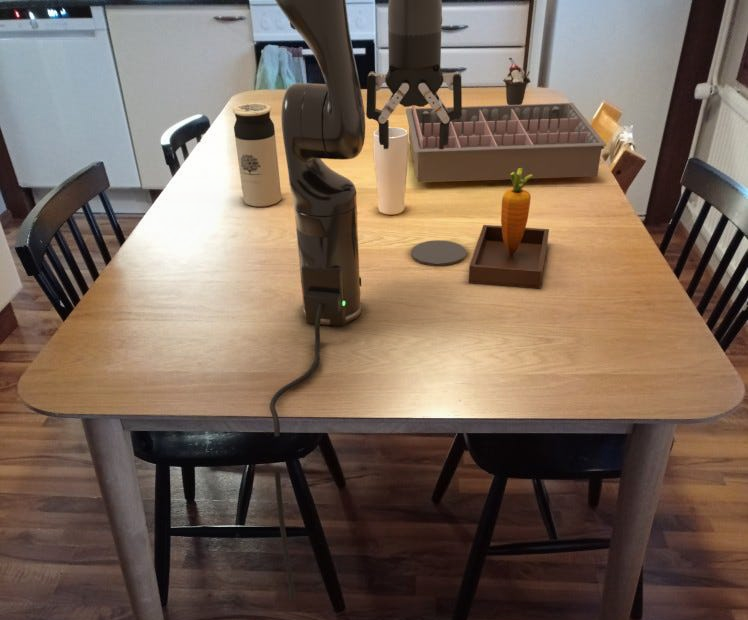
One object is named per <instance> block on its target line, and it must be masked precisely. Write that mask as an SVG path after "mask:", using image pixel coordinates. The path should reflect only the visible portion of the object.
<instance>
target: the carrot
mask: <svg viewBox="0 0 748 620" xmlns="http://www.w3.org/2000/svg"><path fill="white" fill-rule="evenodd" d="M521 175H522V168H519V169H518V171H517V173H516V176H515V173H514V172H512V173H511V175H510V176H511V179H510V180H511V183H512V186H513V187H512V188H510V189H507V190H505V191H504V193H503V196H502V199H501V210H500V211H501V212H500V213H501V215H500V216H501V217H500V226H501V227H502V236H503V241H504V244H505V247H506V249H507V252H508V253H509V254H510V255H513V254H514V253H515V251H516V250H517V248H518V246H519V244H520V242H521V240H522V237H523V234H524V231H525V228H527V223H528V220H529V213H530V207H531V193H530V192H529V191H528V190H526V189H523V187H524V186H525V184H526V183H527V182H528V181H529V180H530V178H531V179H533V178H532V177H533V175H532V174H530V175H528V176H526V177H525V178H524V179H521Z"/></svg>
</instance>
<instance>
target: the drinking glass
mask: <svg viewBox="0 0 748 620" xmlns="http://www.w3.org/2000/svg"><path fill="white" fill-rule="evenodd" d="M372 151H373V153H372V154H373V155H372V156H373V163H374V174H375V183H376V193H377V207H378V208H377V209H378V211H379V212H380V213H381V214H384V215H388V216H389V215H390V216H393V215H398V214H401V213H403V212H404V210H405V204H406V202H405V198H406V186H407V185H406V184H407V175H408V174H407V173H408V163H409V162H408V161H409V130H407V129H405V128H402V127H396V126H389V148H388V149H384V147H383V145H380V143H379V128H378V129H375V130H374V131H373V136H372Z"/></svg>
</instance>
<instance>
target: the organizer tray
mask: <svg viewBox="0 0 748 620" xmlns="http://www.w3.org/2000/svg"><path fill="white" fill-rule="evenodd" d="M445 107H446V108H447V110H450V109H453V106H445ZM405 114H406V119H407V123H408V142H409V145H410V151H411V155H412V160H413V166H414V170H415V171H414V172H415V175H416V180H417V183H440V182H441V183H443V182H445V183H446V182H470V181H496V180H497V181H500V180H501V181H502V180H511V176H510V175H511V173H512V172H514V173H515V176H516V173H517V171H518V169H519V168H522V175H521V180H524V178H525V177H526V176H528V175H530V174H532V175H533V177H532V178H530V179H531V180H532V179H555V178H556V179H557V178H579V177H580V178H583V177H598V175H599V167H600V162H601V161H600V160H601V156H602V155H601V154H602V149H603V147H607V144H606V142H605V141H604V139H602V137H601V136H600V135H599V133H598V132H597V131H596V130H595V129H594V128H593V125H592V124H590V122H589V121H588V120H587V118H585V116H584V115H583V114H582V112H581V111H580V110H579V108H577V107H576V105H575V103H573V102H559V103H558V102H557V103H532V104H531V103H530V104H529V103H528V104H527V103H526V104H521V105H508V104H501V105H500V104H499V105H474V106H473V105H471V106H462V116H461V118H460V119H454V120H452V121H451V122H450V123H449V139H448V144H447V145H444V149H439V133H440V120H441V119H440V118H439V117H438V115H437V114H436V112H434V110H433V109H432V107H416V106H415V105H413V106H411V107H410V108H406V109H405ZM530 179H529V180H530Z"/></svg>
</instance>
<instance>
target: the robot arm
mask: <svg viewBox="0 0 748 620" xmlns="http://www.w3.org/2000/svg"><path fill="white" fill-rule="evenodd" d="M274 1H275V3H276V4H277V7H279V8H280V10H281V11H282V13H283V14H284V15H285V17H286V18H287V20H288V21H289V22H290V24H291V25H292V26H293V28H294V29H295V30H296V32H297V33H298V35H299V36H300V37H301V38H302V39H303V41H304V42H305V43H306V45H307V46H308V48H309V49H310V51H311V52H312V54H313V55H314V58H315V60H316V62H317V64H318V66H319V68H320V71H321V74H322V77H323V80H324V83H310V82H298V83H297V82H296V83H293V84H291V85H289V87H288V88H287V89H286V90H285V93H284V95H283V99H282V103H281V115H280V116H281V117H280V121H281V131H282V140H283V141H282V142H283V146H284V153H285V159H286V166H287V167H286V168H287V173H288V183H289V189H290V192H291V195H292V199H293V207H294V209H293V210H294V216H295V217H294V219H295V229H296V230H295V231H296V240H297V251H298V265H299V274H300V275H299V276H300V287H301V297H302V311H303V316H304V318H305V323H306V324H314V360H313V363H312V364H311V366H310V367H309V369H308V370H307V371H306V372H305V373H304V374H302V375H301V376H300V377H298V378H296V379H294V380H292V381H291V382H289V383H287V384H286V385H284V386H283V387H281V388H280V389H278V391H276V392H275V394H273V396H272V398H271V400H270V402H269V411H270V413H271V416H272V420H273V429H274V431H273V432H274V434H273V435H274V437H276V438H278V437H280V435H281V427H280V419H279V415H278V412H277V409H276V404H277V402H278V400H279V398H280V397H281V396H282V395H283V394H285V393H286V392H287V391H289V390H291V389H292V388H294V387H295V386H297V385H299V384H301V383H303V382H305V380H308V378H310V376H312V374H313V373H314V372H315V371H316V369H317V367H318V366H319V363H320V343H321V342H320V341H321V330H320V328H321V325H323V326H324V325H325V326H335V327H344V326H345V324H347V323H349V322H352V321H354V320H356V319H357V318H358V317H360V315H361V313H362V301H361V299H362V298H361V287H362V278H361V276H360V258H359V257H360V255H359V231H358V230H359V228H358V203H357V199H358V198H357V189H356V186H355V184H354V182H353V181H352V180H350V179H349V178H347V177H345V176H344V175H342V174H340V173H339V172H336V171H334V170H333V169H331V168H330V166H328V165H327V164H325V162H324V161H323V159H325V160H336V161H337V160H338V161H346V160H348V161H349V160H353V159H355V158H357V157H358V156H359V155H360V154H361V152H362V150H363V147H364V144H365V139H366V118H367V119H368V120H374V121H376V122H377V124H378V129H379V143H380V145H383V147H384V149H388V148H389V127H390V123H389V122H390V121H389V118H390V116H391V115H392V114H393V113H394V111H395V110H396V109H397V107H398V106H399V105H401V106H402V107H404V108H409V107H410V108H411V107H412V106H413V105H415V107H417V108H425V106H427V105H429V106H430V108H432V109H433V110H434V112H436V114H437V115H438V117H439V118H440V119H441V120H440V133H439V149H444V145H447V144H448V139H449V123H450V122H451V121H452V120H454V119H460V118H461V116H462V107H463V99H462V98H463V97H462V96H463V95H462V94H463V93H462V91H463V90H462V87H463V86H462V73H461V71H460V70H455V71H454V72H449V73H443V72H442V71H443V70H442V68H441V61H442V25H443V4H442V2H443V1H442V0H388V5H387V34H388V35H387V39H388V41H387V42H388V43H387V45H388V48H387V49H388V69H387V72H386V74H385V73H377V72H376V71H374V70H371V71H369V73H368V75H367V78H366V108H365V106H364V99H363V95H362V94H363V93H362V87H361V84H360V79H359V75H358V74H359V73H358V68H357V64H356V58H355V54H354V53H355V52H354V48H353V44H352V43H353V42H352V37H351V31H350V25H349V16H348V8H347V0H274ZM443 83H445V84H446V86H447V89H448V90H449V91H452V96H453V98H452V100H453V101H452V102H453V106H452V107H453V109H450V110H447V108H446V107H447V106H445V104H444V102H443V100H442V98H441V97H440V95H439V94H438V91H439V90H440V88H441V87H442V85H443ZM383 84H385V85H386V86H387V89H388V90H389V91H390V93H391V95H390V97H389V98H388V100H387V102H386V103H385V105H384V106H383V108H382V109H378V108H377V92H378V91H380V90H381V89H382V86H383ZM365 109H366V111H365ZM365 112H366V113H365ZM281 478H282V477H281V471H274V481H275V493H276V505H277V515H278V522H279V532H280V538H281V544H282V550H283V558H284V564H285V570H286V577H287V584H288V593H289V598H290V601H291V602H294V601H295V600H296V595H295V587H294V579H293V571H292V565H291V559H290V553H289V547H288V539H287V533H286V532H287V530H286V524H285V523H286V522H285V515H284V503H283V495H282V494H283V493H282V481H281V480H282V479H281Z"/></svg>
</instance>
